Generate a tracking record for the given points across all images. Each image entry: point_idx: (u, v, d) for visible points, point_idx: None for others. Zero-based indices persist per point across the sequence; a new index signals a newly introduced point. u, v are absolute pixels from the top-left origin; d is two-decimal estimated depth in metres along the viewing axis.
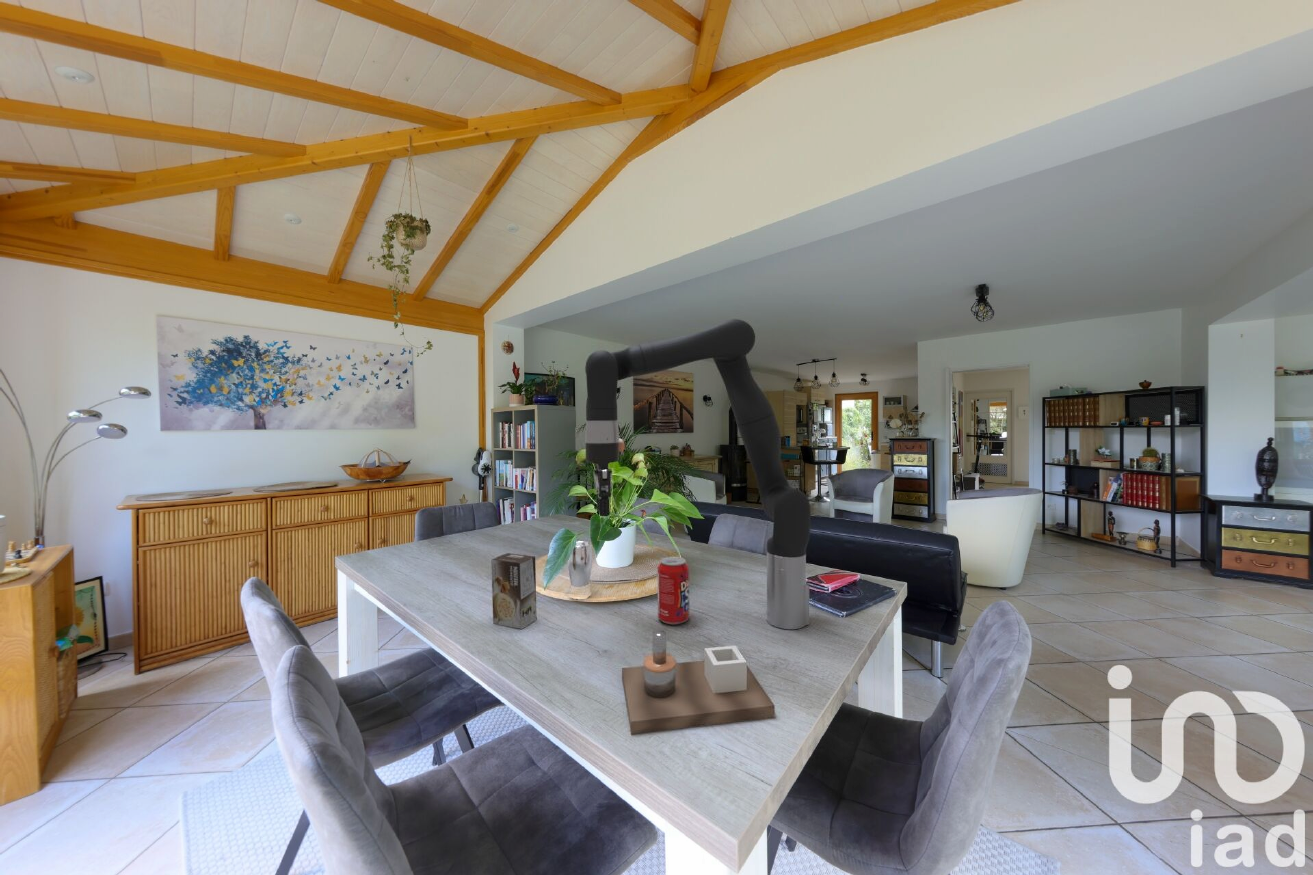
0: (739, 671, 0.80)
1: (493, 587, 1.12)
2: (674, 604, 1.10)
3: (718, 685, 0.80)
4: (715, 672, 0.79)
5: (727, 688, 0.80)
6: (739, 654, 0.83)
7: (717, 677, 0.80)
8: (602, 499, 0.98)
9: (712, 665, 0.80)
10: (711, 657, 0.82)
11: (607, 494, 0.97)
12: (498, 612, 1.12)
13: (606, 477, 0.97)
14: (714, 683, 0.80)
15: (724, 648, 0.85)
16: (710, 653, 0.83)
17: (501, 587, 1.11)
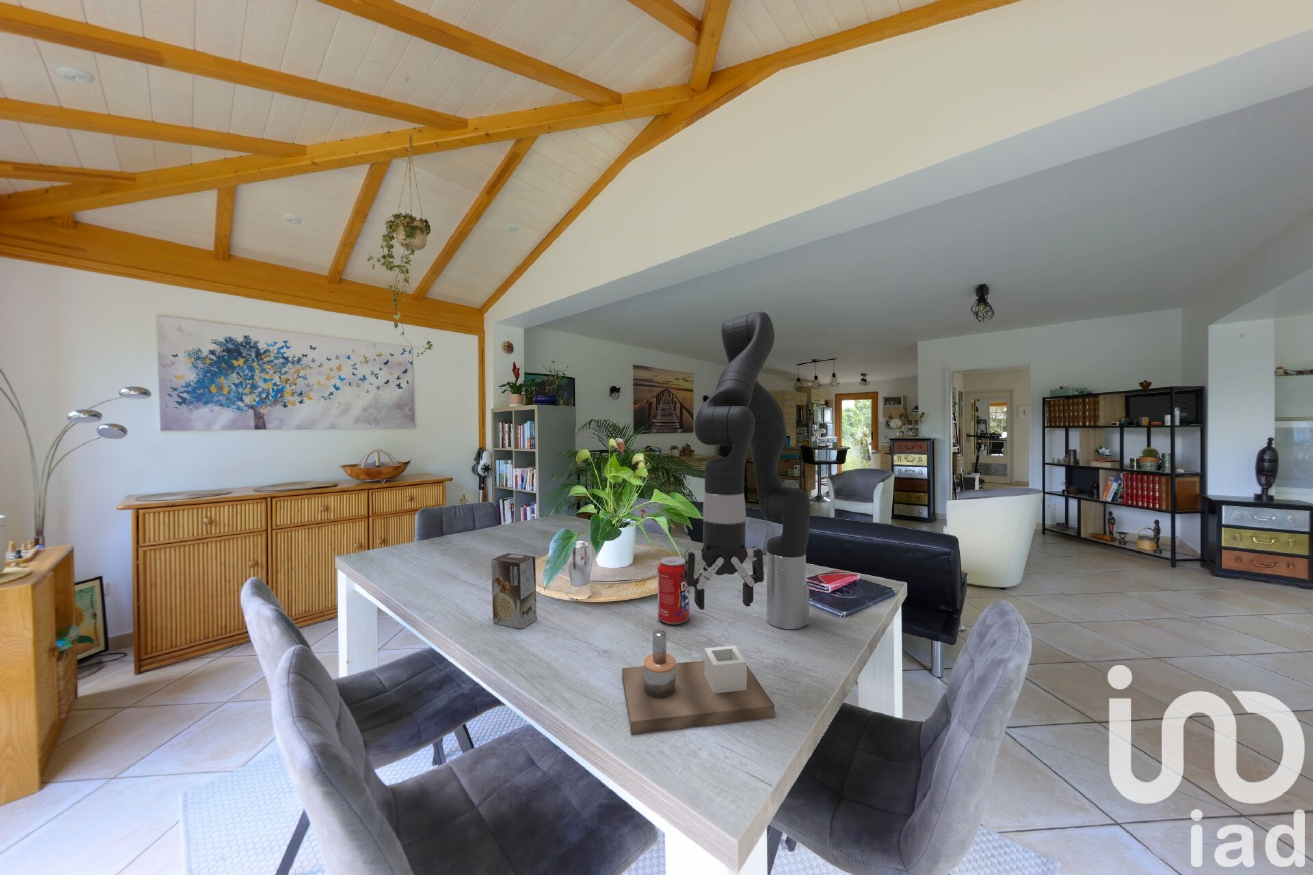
0: (739, 671, 0.80)
1: (493, 587, 1.12)
2: (674, 604, 1.10)
3: (718, 685, 0.80)
4: (715, 672, 0.79)
5: (727, 688, 0.80)
6: (739, 654, 0.83)
7: (717, 677, 0.80)
8: None
9: (712, 665, 0.80)
10: (711, 657, 0.82)
11: None
12: (498, 612, 1.12)
13: None
14: (714, 683, 0.80)
15: (724, 648, 0.85)
16: (710, 653, 0.83)
17: (501, 587, 1.11)
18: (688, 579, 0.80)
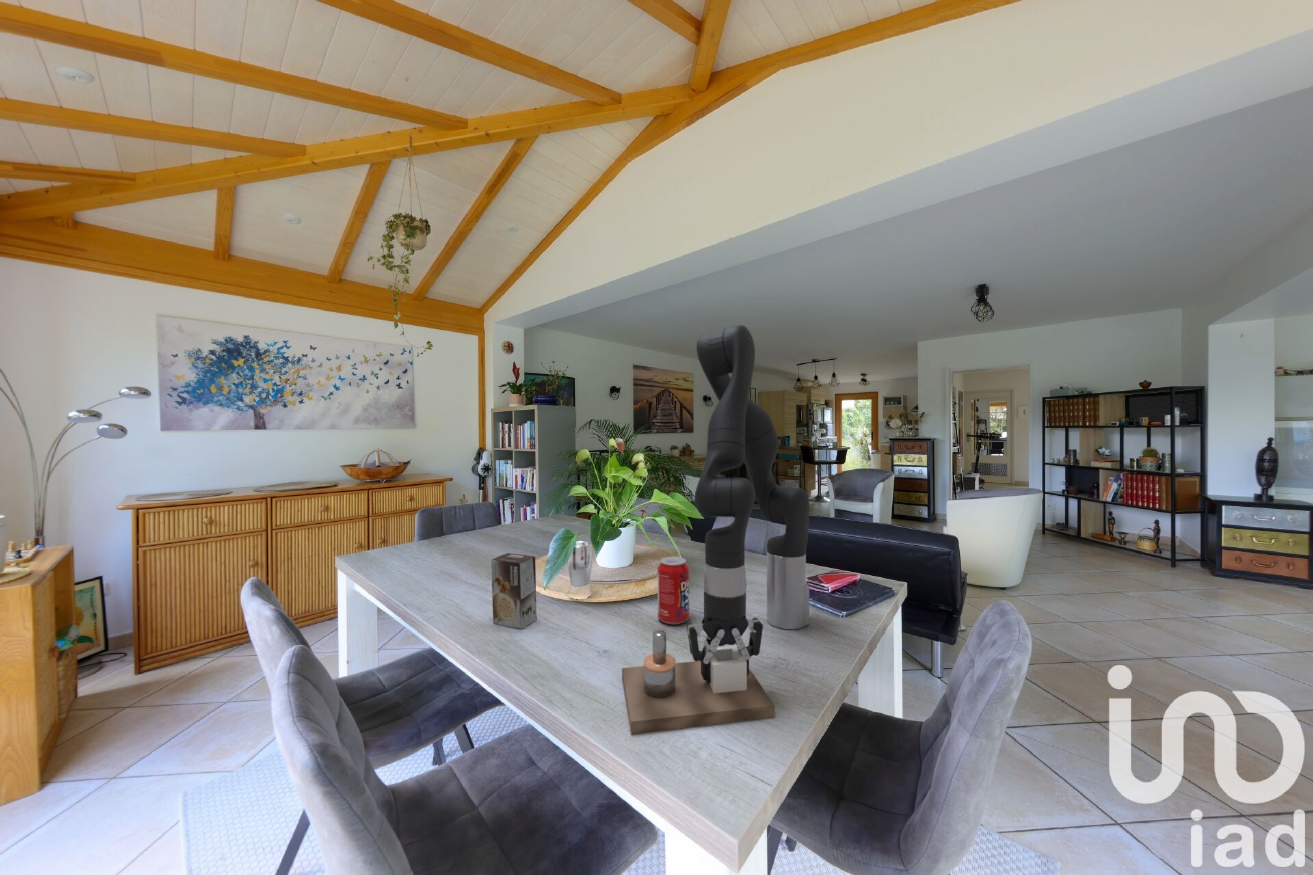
0: (739, 671, 0.80)
1: (493, 587, 1.12)
2: (674, 604, 1.10)
3: (718, 685, 0.80)
4: (715, 672, 0.79)
5: (727, 688, 0.80)
6: (739, 654, 0.83)
7: (717, 677, 0.80)
8: None
9: (712, 665, 0.80)
10: None
11: None
12: (498, 612, 1.12)
13: None
14: (714, 683, 0.80)
15: (724, 648, 0.85)
16: None
17: (501, 587, 1.11)
18: (695, 654, 0.81)
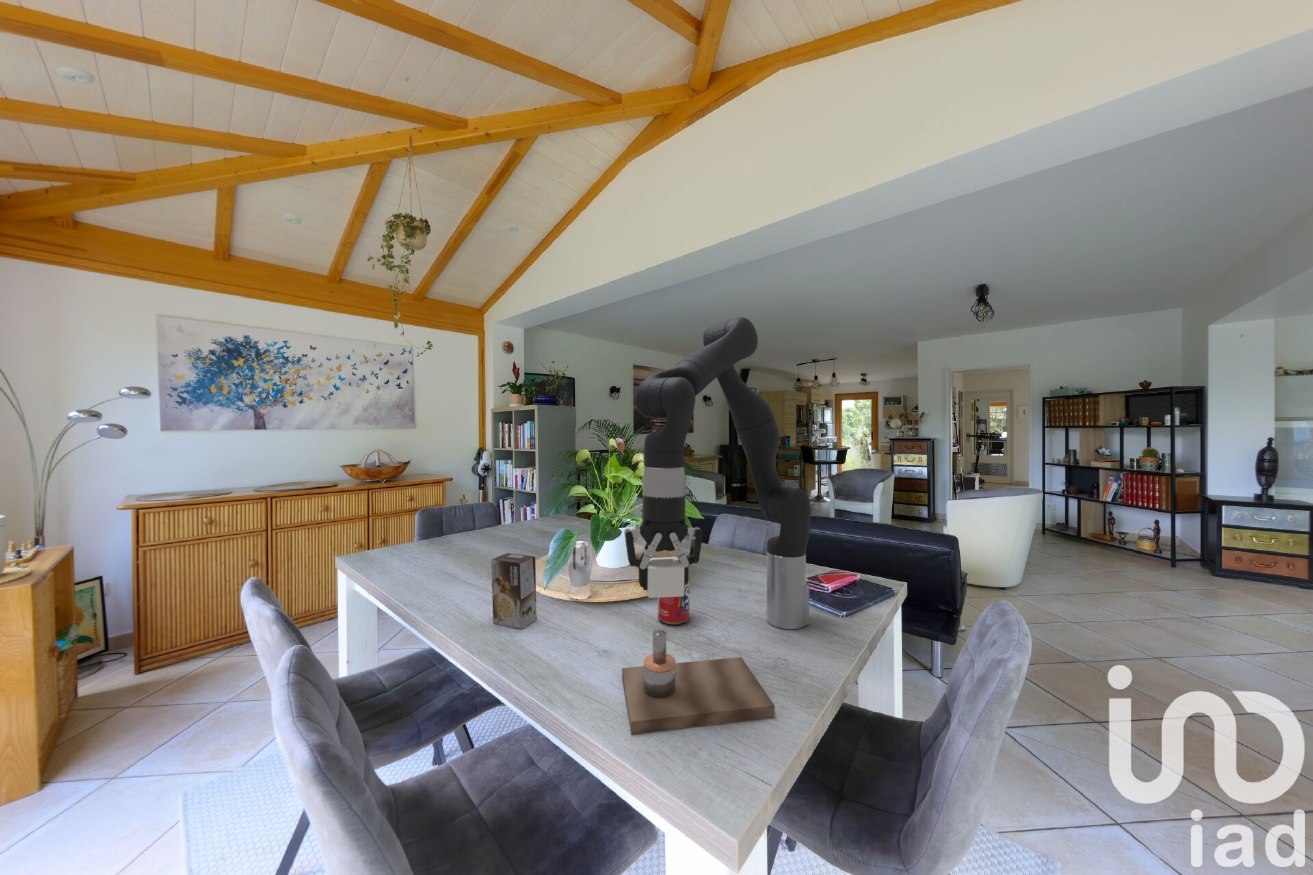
0: (676, 576, 0.78)
1: (493, 587, 1.12)
2: (674, 604, 1.10)
3: (654, 590, 0.77)
4: (650, 576, 0.77)
5: (663, 593, 0.77)
6: (678, 562, 0.80)
7: (653, 581, 0.77)
8: None
9: (648, 569, 0.77)
10: (649, 563, 0.79)
11: None
12: (498, 612, 1.12)
13: None
14: (650, 587, 0.77)
15: (665, 558, 0.82)
16: (649, 561, 0.81)
17: (501, 587, 1.11)
18: (631, 558, 0.78)
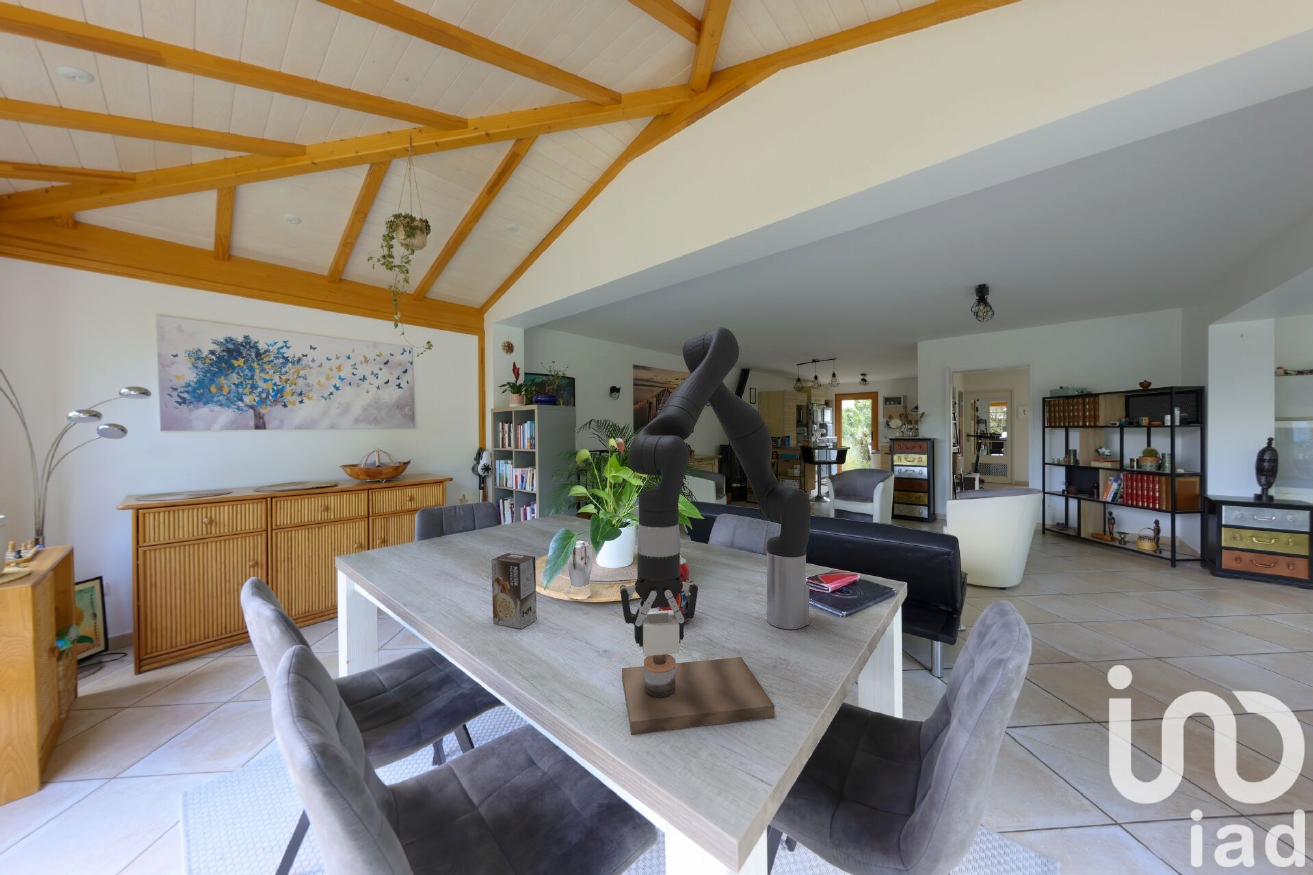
0: (671, 634, 0.78)
1: (493, 587, 1.12)
2: None
3: (649, 648, 0.77)
4: (646, 634, 0.77)
5: (659, 651, 0.78)
6: (674, 617, 0.81)
7: (648, 639, 0.77)
8: None
9: (644, 627, 0.78)
10: (644, 620, 0.80)
11: None
12: (498, 612, 1.12)
13: None
14: (645, 645, 0.77)
15: (660, 612, 0.83)
16: None
17: (501, 587, 1.11)
18: (626, 616, 0.79)
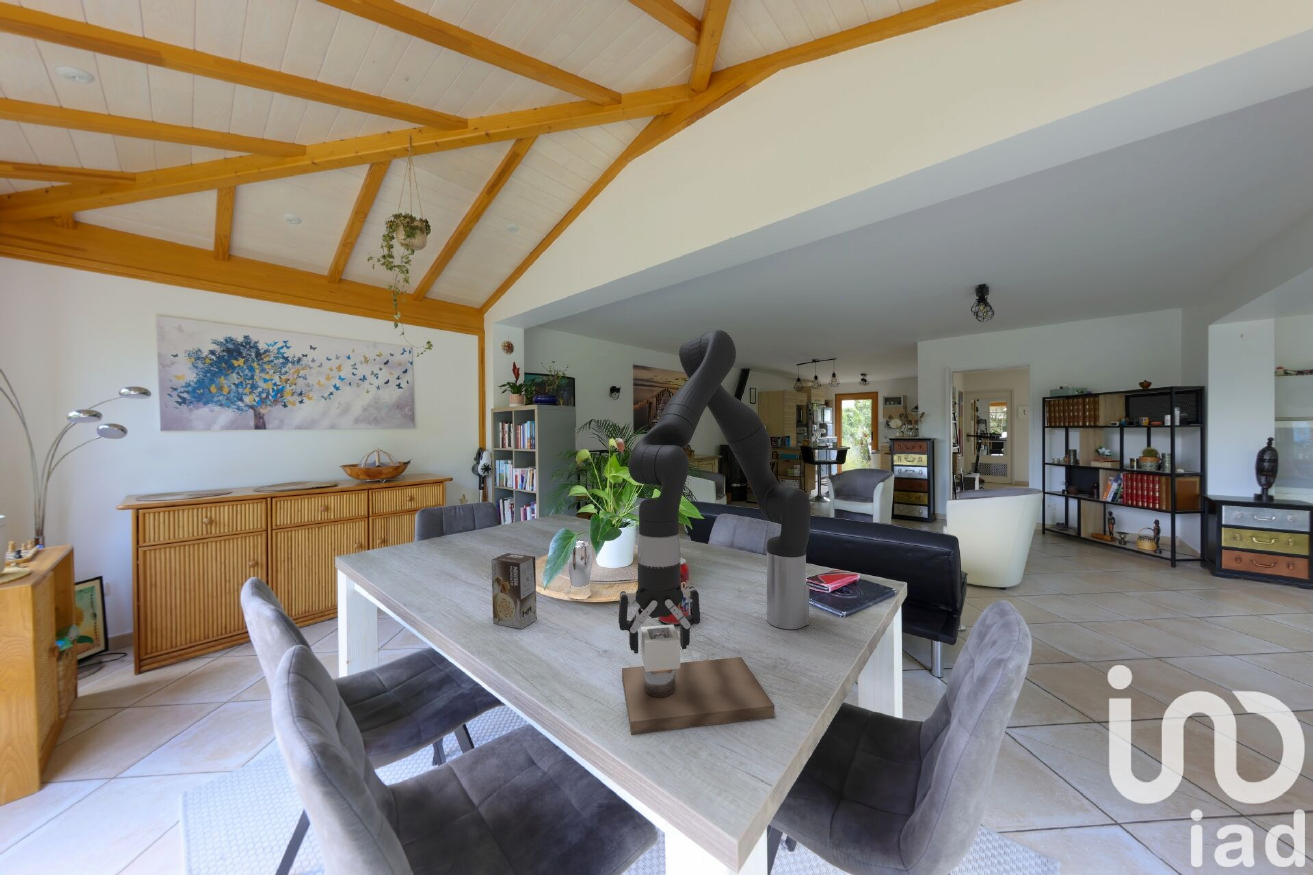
0: (672, 649, 0.78)
1: (493, 587, 1.12)
2: None
3: (650, 663, 0.77)
4: (646, 650, 0.77)
5: (659, 666, 0.78)
6: (674, 632, 0.81)
7: (649, 655, 0.77)
8: None
9: (644, 643, 0.78)
10: (645, 635, 0.80)
11: None
12: (498, 612, 1.12)
13: None
14: (646, 661, 0.77)
15: (661, 627, 0.83)
16: (645, 631, 0.81)
17: (501, 587, 1.11)
18: (621, 623, 0.78)
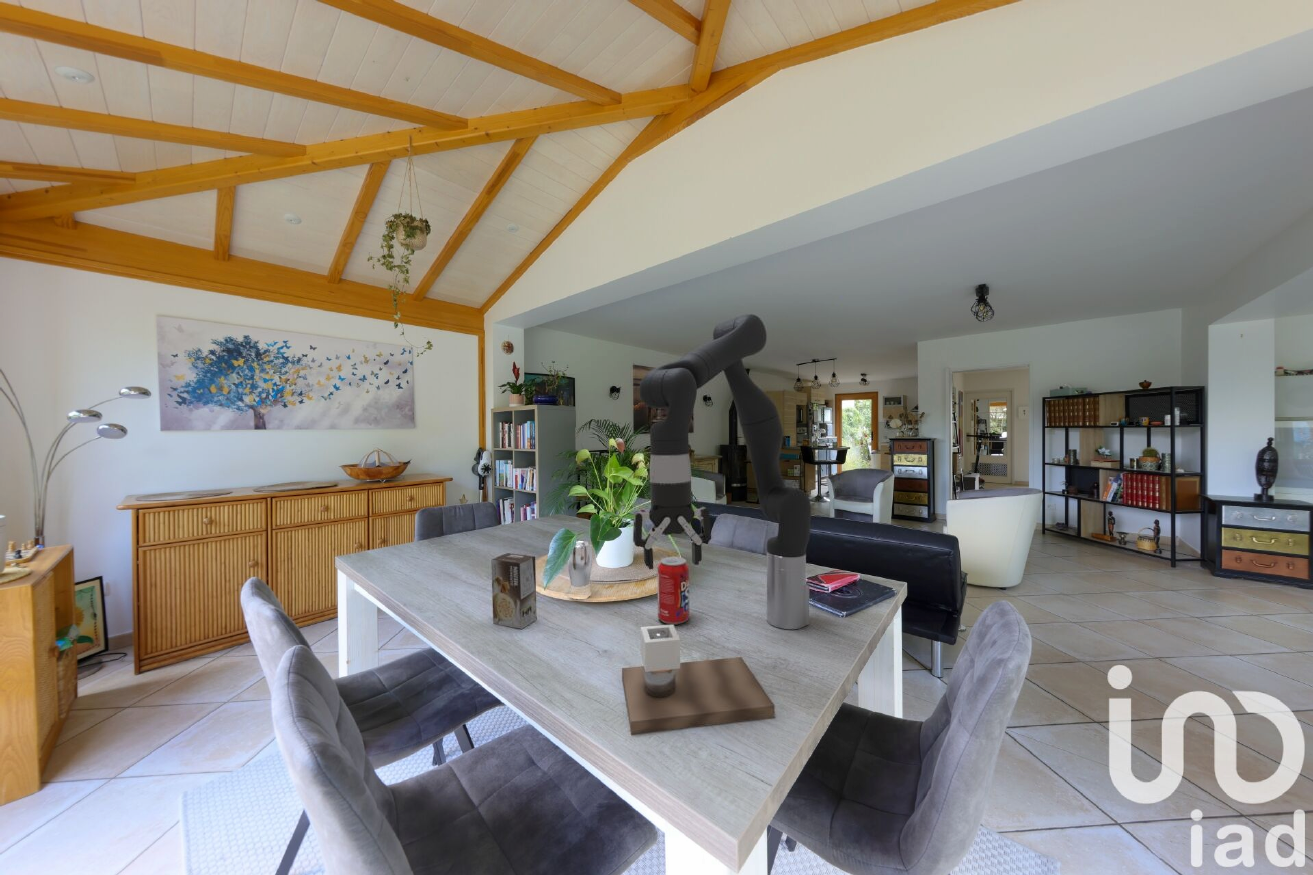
0: (672, 649, 0.78)
1: (493, 587, 1.12)
2: (674, 604, 1.10)
3: (650, 663, 0.77)
4: (646, 650, 0.77)
5: (659, 666, 0.78)
6: (674, 632, 0.81)
7: (649, 655, 0.77)
8: None
9: (644, 643, 0.78)
10: (645, 635, 0.80)
11: None
12: (498, 612, 1.12)
13: None
14: (646, 661, 0.77)
15: (661, 627, 0.83)
16: (645, 631, 0.81)
17: (501, 587, 1.11)
18: (636, 539, 0.82)
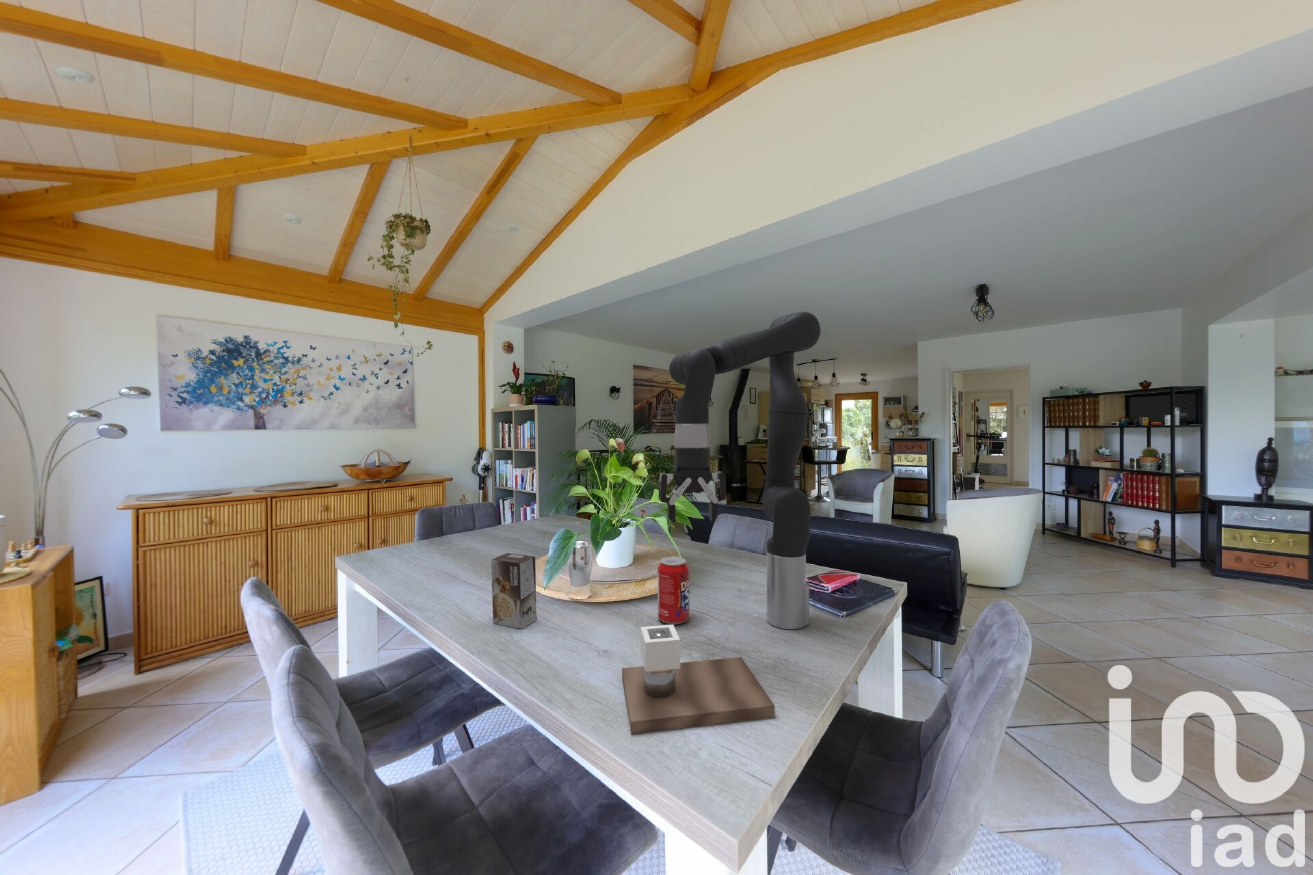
0: (672, 649, 0.78)
1: (493, 587, 1.12)
2: (674, 604, 1.10)
3: (650, 663, 0.77)
4: (646, 650, 0.77)
5: (659, 666, 0.78)
6: (674, 632, 0.81)
7: (649, 655, 0.77)
8: None
9: (644, 643, 0.78)
10: (645, 635, 0.80)
11: None
12: (498, 612, 1.12)
13: None
14: (646, 661, 0.77)
15: (661, 627, 0.83)
16: (645, 631, 0.81)
17: (501, 587, 1.11)
18: (661, 496, 0.95)
